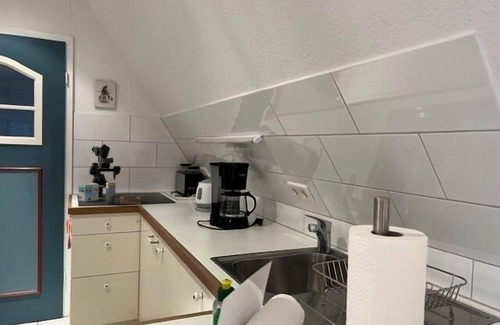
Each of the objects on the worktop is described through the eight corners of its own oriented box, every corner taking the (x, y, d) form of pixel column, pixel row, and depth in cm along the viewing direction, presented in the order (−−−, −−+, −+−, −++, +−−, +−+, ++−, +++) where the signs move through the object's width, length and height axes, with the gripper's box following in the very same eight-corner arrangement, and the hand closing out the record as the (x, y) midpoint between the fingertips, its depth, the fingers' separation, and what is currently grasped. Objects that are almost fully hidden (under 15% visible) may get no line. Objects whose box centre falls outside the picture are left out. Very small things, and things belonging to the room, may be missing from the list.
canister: (105, 203, 240) (105, 182, 239) (115, 203, 242) (115, 182, 241) (105, 204, 235) (106, 183, 234) (115, 204, 237) (116, 183, 236)
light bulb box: (84, 201, 242) (84, 184, 242) (77, 200, 246) (78, 183, 245) (98, 199, 251) (99, 183, 251) (92, 198, 255) (92, 182, 254)
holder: (119, 201, 250) (119, 196, 250) (138, 200, 254) (139, 195, 254) (120, 204, 239) (120, 199, 239) (140, 203, 243) (140, 198, 243)
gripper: (90, 153, 243) (93, 171, 234) (120, 153, 253) (124, 171, 244) (87, 165, 250) (91, 183, 241) (116, 165, 260) (121, 182, 251)
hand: (107, 179), depth 244 cm, fingers open, 9 cm apart
